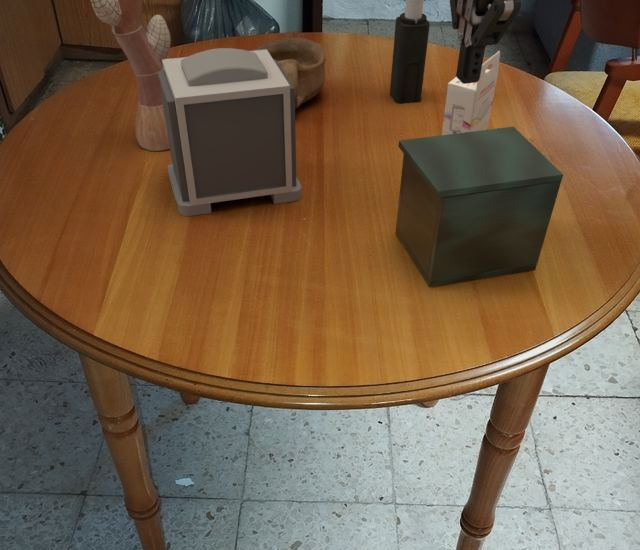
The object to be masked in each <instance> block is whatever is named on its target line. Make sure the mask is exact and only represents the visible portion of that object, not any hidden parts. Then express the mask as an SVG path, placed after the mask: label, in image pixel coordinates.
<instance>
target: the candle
mask: <svg viewBox="0 0 640 550" xmlns="http://www.w3.org/2000/svg"><path fill="white" fill-rule="evenodd" d="M423 10H424V0H405V8H404V12H402V13H400V14H399V16H397V17H396V18H395V25H394V26H395V27H394V36H393V37H394V38H393V49H392V50H393V51H392V61H391V73H390V84H389V85H390V86H389V96H390V97H391V99H392V100H393V102H394V103H397V104H404V103H406V104H407V103H418V102H421V101H422V93H423V84H424V76H425V69H426V59H427V51H428V43H429V33H430V26H431V24H430V22H429V21H428V20H427V17H428V16H427V15H426V14H425V13H423Z"/></svg>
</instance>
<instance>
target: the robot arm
mask: <svg viewBox="0 0 640 550" xmlns="http://www.w3.org/2000/svg"><path fill="white" fill-rule="evenodd" d="M521 1H522V0H449V9H450V17H451V25H452V29H453V30H458V32H457V39H458V41H459V42H460V45H459V53H458V60H457V67H456V72H455V77H457V78H458V79H459V80H460V81H461V82H462V83H463V84H467V83H476V82H477V81H479V79H480V74H481V69H482V64H484V57H485V51H486V47H488V46H493V45H494V46H495V45H498V44H499V42H500V41H501V40H502V38H503V37H504V35H505V33H506V32H507V31H508V29H509V28H510V26H511V24H512V23H513V22H514V21H515V19H516V17H517V15H518V14H519V13H520V11H521V8H522V2H521Z"/></svg>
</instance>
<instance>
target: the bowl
mask: <svg viewBox="0 0 640 550" xmlns="http://www.w3.org/2000/svg"><path fill="white" fill-rule="evenodd" d="M266 49H267V51H268V52H269V54H270V55H271V57H272V58H273V59H274V60H277V62H278V63H279V65H280V66H281V68H282V69H283V71H284V73H285V74H286V76H287V77H288V79H289V80H290V82H291V83H292V85H293V87H294V88H295V110H296V109H298V108H299V107H300V106H301V105H303V104H305V103H306V102H308V101H310V100H311V99H313V98H314V97H315V96H316V95H318V94H319V93H320V92H321V90H322V89H323V86H324V84H325V81H326V80H325V79H326V68H325V65H326V51H325V49H324V47H323V46H322V45H321V44H320V43H318V42H316V41H313V40H311V39H308V38H306V37H295V36H294V37H293V36H292V37H287V38H283V39H274V40H270V41H267V42H266V43H264V44H261V45H260V46H258V47H257V48H255V50H254V51H256V50H266Z"/></svg>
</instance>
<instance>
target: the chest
mask: <svg viewBox="0 0 640 550" xmlns="http://www.w3.org/2000/svg"><path fill="white" fill-rule="evenodd" d="M402 157H403V158H402V166H401V173H400V174H401V176H400V185H399V196H398V202H397V203H398V205H397V214H396V223H395V224H396V225H395V232H394V233H395V235H396V237H397V238H398V240H399V242H400V243H401V244H402V246H403V248H404V250H405V252H406V253H407V254H408V256H409V257H410V259H411V261H412V262H413V264H414V265H415V267H416V268H417V270H418V272H419V273H420V275H421V276H422V278H423V279H424V281H425V283H426V284H427V286H428V287H429V288H436V287H442V286H446V285H454V284H460V283H465V282H466V283H467V282H471V281H478V280H484V279H489V278H490V279H491V278H496V277H502V276H508V275H514V274H519V273H525V272H532V271H536V269H537V266H538V262H539V259H540V255H541V252H542V250H543V249H542V248H543V245H544V243H545V238H546V235H547V232H548V228H549V226H550V222H551V217H552V214H553V211H554V208H555V204H556V201H557V199H558V198H557V197H558V194H559V191H560V189H561V184H562V181H558V182H550V183H543V184H536V185H529V186H522V187H515V188H507V189H500V190H493V191H486V192H479V193H472V194H464V195H457V196H450V197H443V198H437V197H436V196H435V194H434V193H433V192H432V190H431V189H430V188H429V187H428V185H427V184H426V183H425V181H424V180H423V179H422V177H421V176H420V175H419V173H418V172H417V171H416V169H415V168H414V167H413V165H412V164H411V163H410V161H409V160H408V159H407V157H406V156H405V155H404V154H403V155H402Z"/></svg>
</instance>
